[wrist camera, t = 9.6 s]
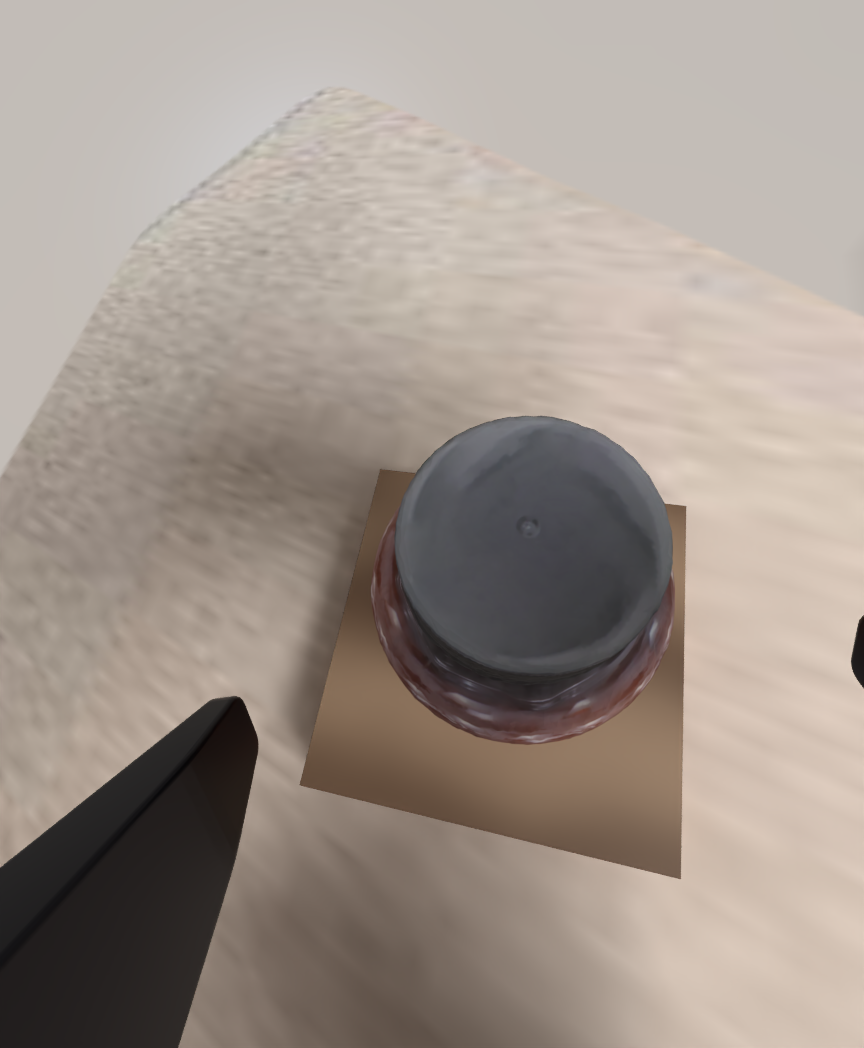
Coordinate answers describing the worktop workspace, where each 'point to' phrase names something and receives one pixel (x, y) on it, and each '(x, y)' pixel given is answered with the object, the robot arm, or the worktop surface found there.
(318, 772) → the walnut plinth
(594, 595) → the supplement bottle
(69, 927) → the robot arm
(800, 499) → the worktop surface
